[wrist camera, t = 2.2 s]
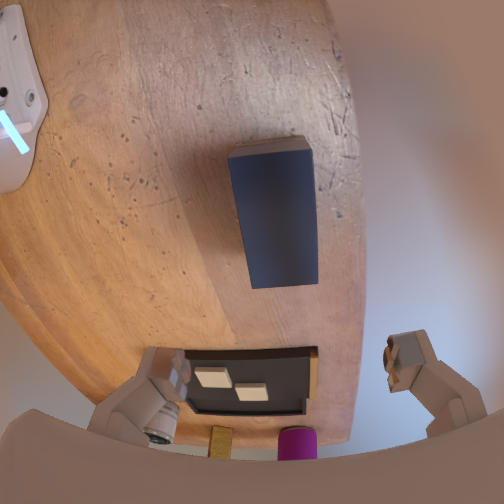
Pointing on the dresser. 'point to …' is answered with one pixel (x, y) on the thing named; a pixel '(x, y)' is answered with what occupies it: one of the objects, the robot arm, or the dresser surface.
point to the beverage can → (297, 444)
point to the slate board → (259, 372)
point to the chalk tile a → (213, 377)
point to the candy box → (220, 442)
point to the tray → (248, 407)
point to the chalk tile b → (251, 391)
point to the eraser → (276, 210)
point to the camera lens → (163, 424)
